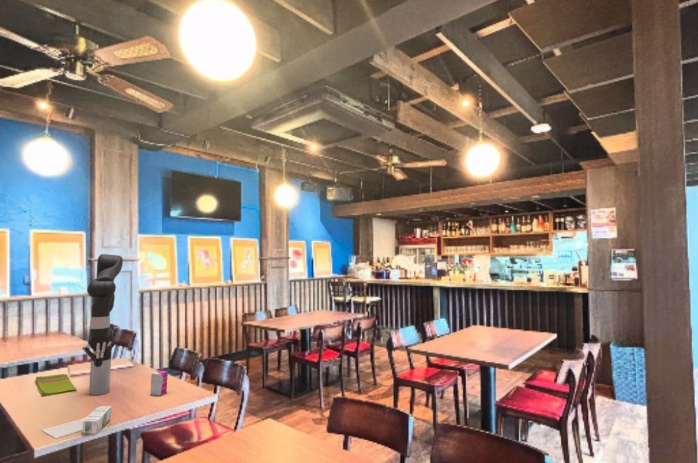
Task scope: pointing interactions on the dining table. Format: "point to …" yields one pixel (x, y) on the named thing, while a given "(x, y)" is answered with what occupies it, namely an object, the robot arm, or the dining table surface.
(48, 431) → the white rectangular panel
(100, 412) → the syrup box
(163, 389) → the supplement box
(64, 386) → the dish towel
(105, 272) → the robot arm
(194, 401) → the dining table surface
